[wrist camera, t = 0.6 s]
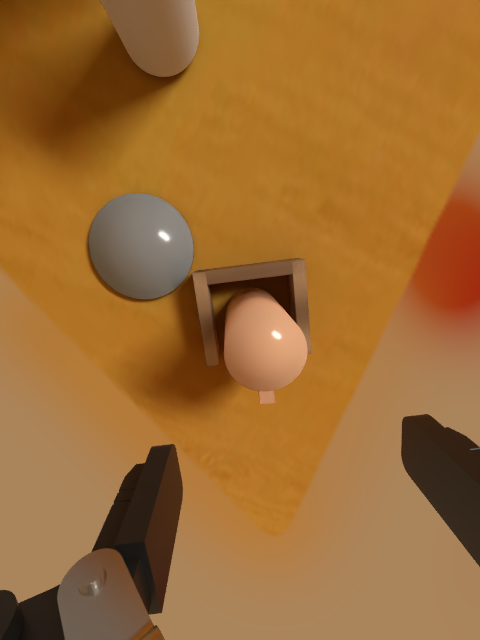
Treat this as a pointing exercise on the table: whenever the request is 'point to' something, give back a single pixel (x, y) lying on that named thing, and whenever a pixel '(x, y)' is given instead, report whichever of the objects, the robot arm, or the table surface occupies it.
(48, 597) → the robot arm
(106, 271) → the grey dome disc
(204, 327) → the wooden u-shaped frame
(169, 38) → the beverage can
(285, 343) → the peach cylinder with handle
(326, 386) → the table surface
